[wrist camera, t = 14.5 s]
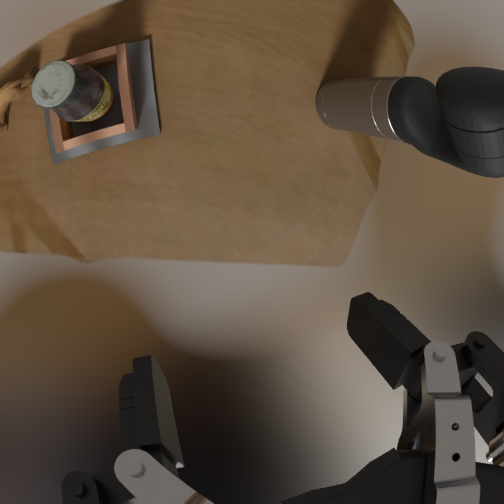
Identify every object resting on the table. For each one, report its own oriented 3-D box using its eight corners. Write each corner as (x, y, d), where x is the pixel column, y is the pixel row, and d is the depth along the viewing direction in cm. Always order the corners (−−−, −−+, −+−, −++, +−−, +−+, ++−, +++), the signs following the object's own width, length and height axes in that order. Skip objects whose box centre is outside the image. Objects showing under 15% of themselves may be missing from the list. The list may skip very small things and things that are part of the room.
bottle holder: (149, 40, 30) (148, 27, 25) (160, 133, 37) (160, 136, 32) (42, 72, 26) (25, 67, 21) (55, 163, 34) (40, 171, 28)
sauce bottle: (80, 127, 32) (21, 139, 15) (71, 88, 29) (9, 72, 12) (121, 111, 33) (90, 106, 17) (113, 72, 30) (78, 37, 13)
